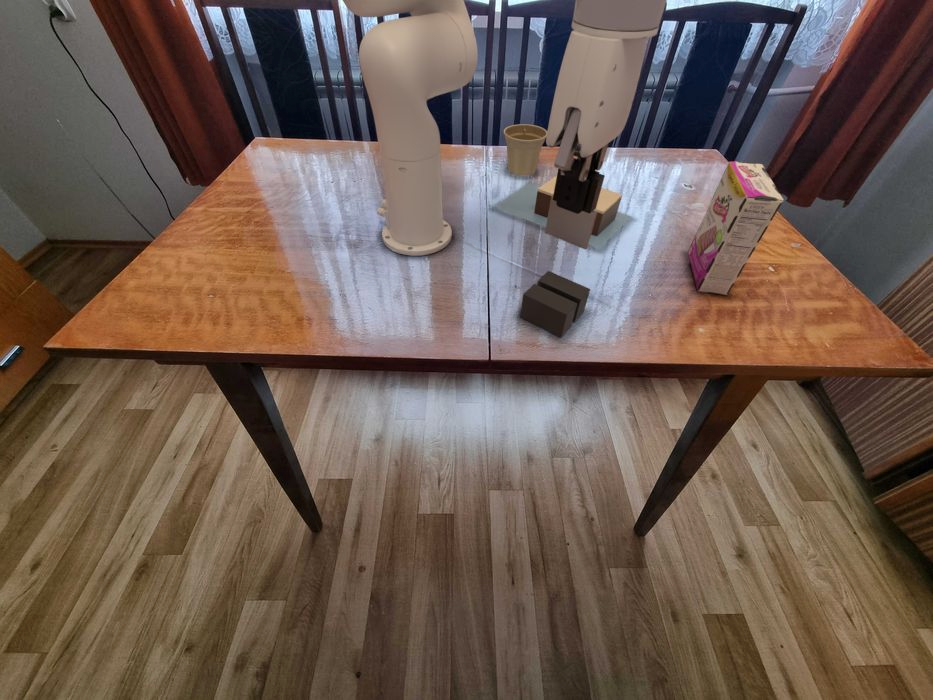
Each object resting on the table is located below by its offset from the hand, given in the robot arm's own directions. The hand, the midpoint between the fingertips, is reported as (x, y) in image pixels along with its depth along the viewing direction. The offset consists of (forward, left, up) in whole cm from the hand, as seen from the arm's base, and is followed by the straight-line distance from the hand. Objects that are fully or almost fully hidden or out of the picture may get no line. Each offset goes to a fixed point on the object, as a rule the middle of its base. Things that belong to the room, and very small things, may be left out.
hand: (573, 204), depth 50 cm
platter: (-13, +27, -18) cm, 35 cm away
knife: (0, 0, -5) cm, 5 cm away
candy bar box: (+15, +25, -18) cm, 34 cm away
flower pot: (-30, +38, -18) cm, 51 cm away
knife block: (0, 0, -18) cm, 18 cm away
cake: (-8, +27, -17) cm, 33 cm away
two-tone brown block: (-15, +27, -17) cm, 35 cm away
